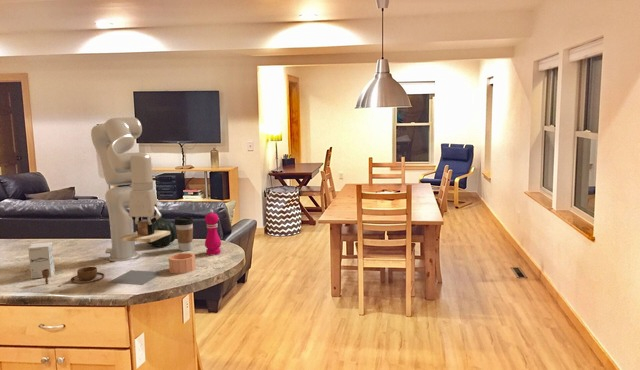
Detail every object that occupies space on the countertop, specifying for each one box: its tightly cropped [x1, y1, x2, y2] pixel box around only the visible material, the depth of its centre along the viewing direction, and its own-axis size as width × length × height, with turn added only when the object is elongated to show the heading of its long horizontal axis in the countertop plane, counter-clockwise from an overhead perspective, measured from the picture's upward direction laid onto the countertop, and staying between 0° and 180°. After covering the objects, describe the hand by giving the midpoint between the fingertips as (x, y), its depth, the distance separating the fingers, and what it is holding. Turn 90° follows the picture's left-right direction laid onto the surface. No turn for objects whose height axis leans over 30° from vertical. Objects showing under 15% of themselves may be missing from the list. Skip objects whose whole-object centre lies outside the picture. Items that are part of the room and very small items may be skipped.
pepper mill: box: [204, 209, 222, 256], centre depth 227 cm, size 7×7×20 cm
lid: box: [121, 219, 170, 243], centre depth 195 cm, size 13×13×6 cm
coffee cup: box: [174, 216, 194, 252], centre depth 235 cm, size 8×8×15 cm
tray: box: [106, 269, 165, 286], centre depth 195 cm, size 15×15×1 cm
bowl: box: [168, 252, 196, 275], centre depth 203 cm, size 10×10×6 cm
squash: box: [146, 216, 177, 247], centre depth 245 cm, size 14×15×15 cm
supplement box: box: [27, 241, 56, 280], centre depth 201 cm, size 7×7×13 cm
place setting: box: [42, 266, 105, 288], centre depth 196 cm, size 18×20×6 cm
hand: (146, 233), depth 195 cm, fingers closed on lid, 4 cm apart
